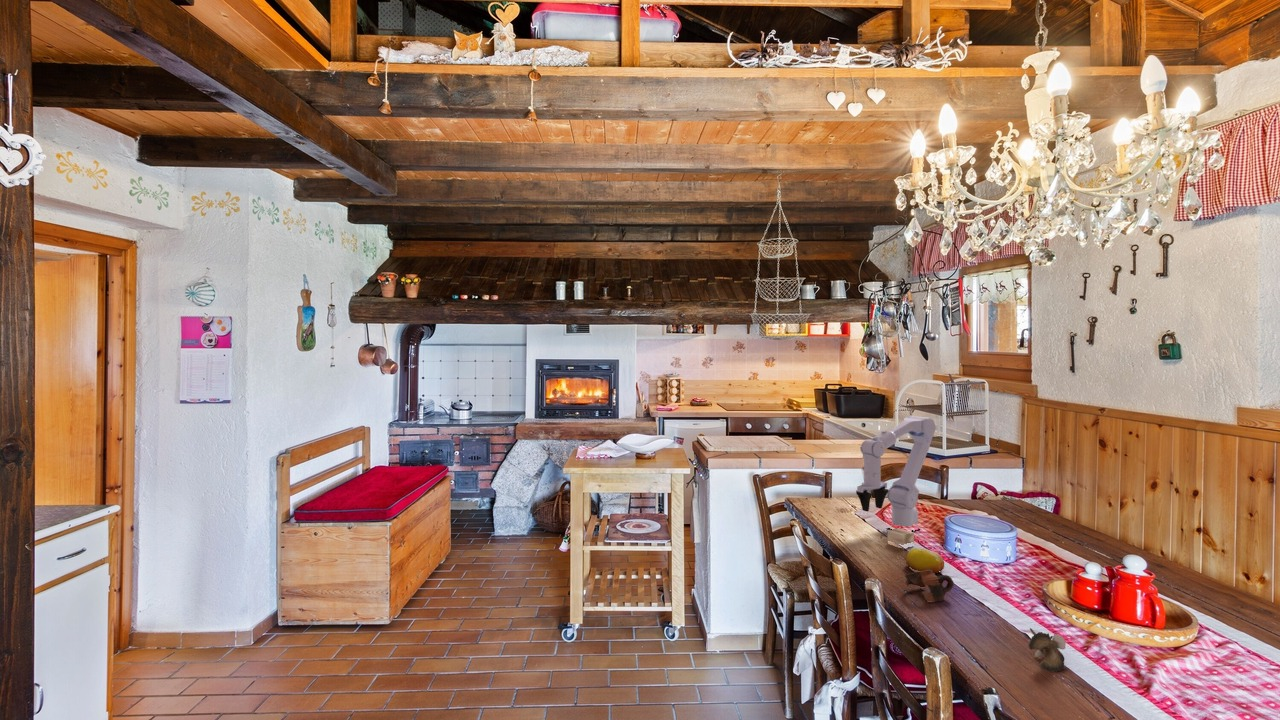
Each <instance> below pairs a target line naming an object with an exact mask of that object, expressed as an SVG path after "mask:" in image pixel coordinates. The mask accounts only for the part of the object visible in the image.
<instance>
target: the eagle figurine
mask: <svg viewBox="0 0 1280 720" xmlns="http://www.w3.org/2000/svg"><path fill="white" fill-rule="evenodd" d="M1029 630H1030V632H1031V634H1032V635H1033V636H1031V638H1030V640H1029V643H1028V648H1029V650H1036V652H1035V653H1034V656H1033V658H1039V657H1040V656H1042V655H1044V656H1043V659H1042V660H1041V661H1040V663H1039V664H1038V666H1039V667H1041V669H1042V670H1044V671H1046V672H1053V673H1054V672H1058V671H1059V672H1061V671H1062V670H1063V669H1064V668H1065V656H1064V654H1063V653H1062V652H1061V651H1060V650H1066V644H1067V643H1066V640H1065V638H1064V637H1063V636H1062V635H1060V634H1059V633H1054V634H1053V635H1051V636H1050V634H1049V633H1048V632H1047V633H1044V632H1042V631H1041V632H1040V631H1038V632H1037V633H1036V632H1035V631H1034V630H1033V629H1032V628H1031V627H1030V628H1029Z"/></svg>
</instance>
